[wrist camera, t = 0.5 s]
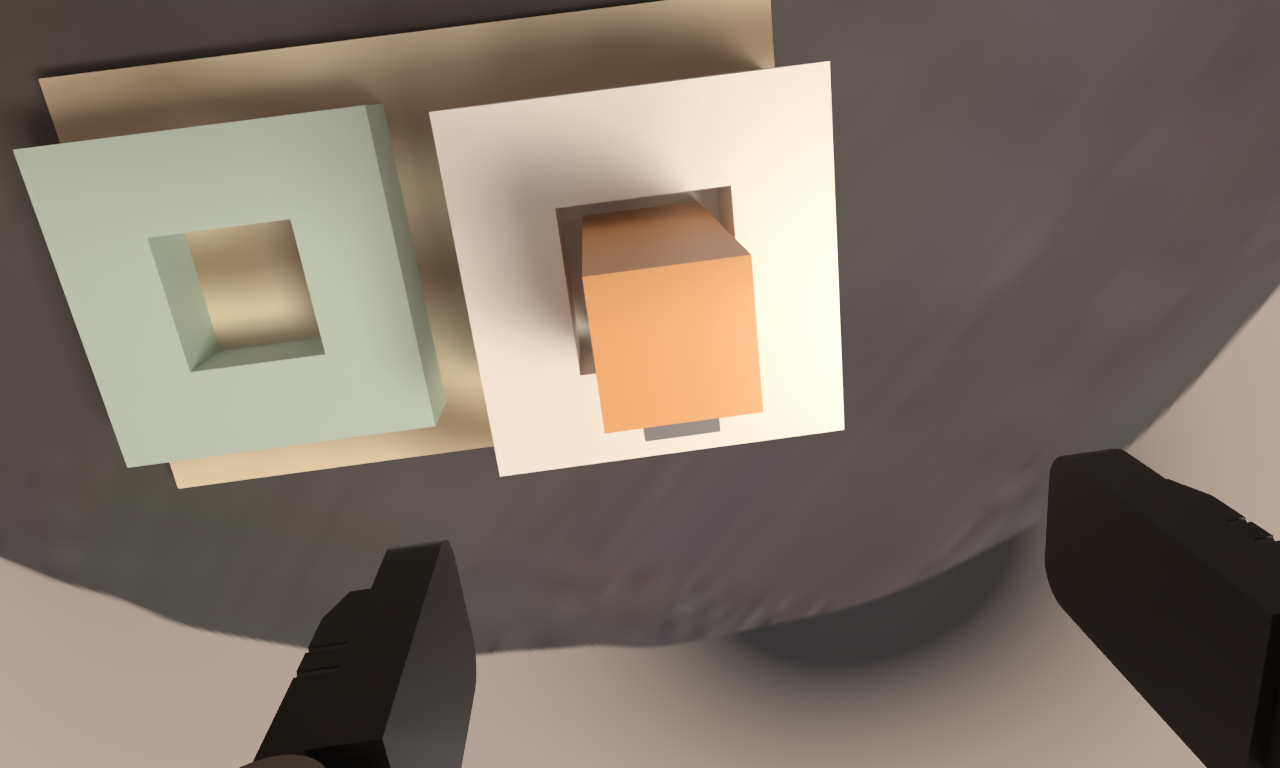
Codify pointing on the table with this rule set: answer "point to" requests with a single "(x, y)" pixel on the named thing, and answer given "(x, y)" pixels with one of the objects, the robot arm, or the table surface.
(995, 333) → the table surface
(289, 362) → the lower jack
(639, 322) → the plug
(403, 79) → the jack board
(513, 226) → the white socket block
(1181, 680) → the robot arm
